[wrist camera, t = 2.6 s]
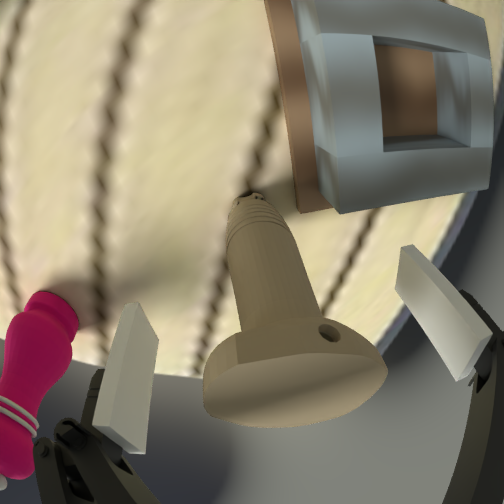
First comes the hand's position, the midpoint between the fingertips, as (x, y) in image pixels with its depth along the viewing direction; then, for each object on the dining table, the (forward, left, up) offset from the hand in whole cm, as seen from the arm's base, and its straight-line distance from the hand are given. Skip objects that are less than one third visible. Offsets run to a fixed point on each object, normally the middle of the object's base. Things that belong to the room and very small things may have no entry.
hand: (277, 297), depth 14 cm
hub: (-8, +12, -9) cm, 17 cm away
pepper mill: (+6, -22, -10) cm, 25 cm away
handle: (0, 0, -10) cm, 10 cm away
